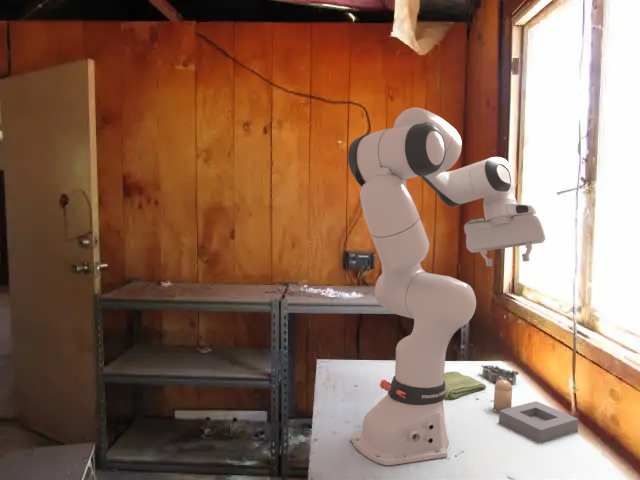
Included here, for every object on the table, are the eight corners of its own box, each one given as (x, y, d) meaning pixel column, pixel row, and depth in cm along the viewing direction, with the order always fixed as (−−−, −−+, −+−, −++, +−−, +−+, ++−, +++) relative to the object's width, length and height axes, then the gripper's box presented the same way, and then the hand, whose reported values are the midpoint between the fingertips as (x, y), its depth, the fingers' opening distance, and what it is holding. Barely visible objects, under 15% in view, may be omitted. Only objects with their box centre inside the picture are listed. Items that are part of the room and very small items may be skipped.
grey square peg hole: (540, 442, 114) (540, 430, 114) (498, 422, 125) (499, 410, 125) (577, 430, 121) (578, 418, 121) (535, 412, 132) (536, 401, 131)
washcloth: (488, 390, 148) (488, 379, 147) (449, 403, 137) (450, 391, 137) (453, 377, 158) (453, 367, 158) (414, 388, 148) (415, 377, 148)
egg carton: (519, 385, 152) (520, 372, 152) (498, 387, 150) (499, 374, 150) (498, 373, 162) (499, 361, 162) (478, 375, 160) (479, 362, 160)
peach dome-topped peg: (503, 414, 130) (504, 384, 129) (490, 408, 133) (491, 378, 133) (514, 411, 132) (516, 381, 131) (501, 405, 136) (503, 376, 135)
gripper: (460, 218, 139) (465, 266, 135) (538, 204, 129) (546, 255, 125) (466, 224, 144) (471, 270, 140) (541, 211, 135) (549, 260, 131)
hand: (507, 263), depth 133 cm, fingers open, 8 cm apart
